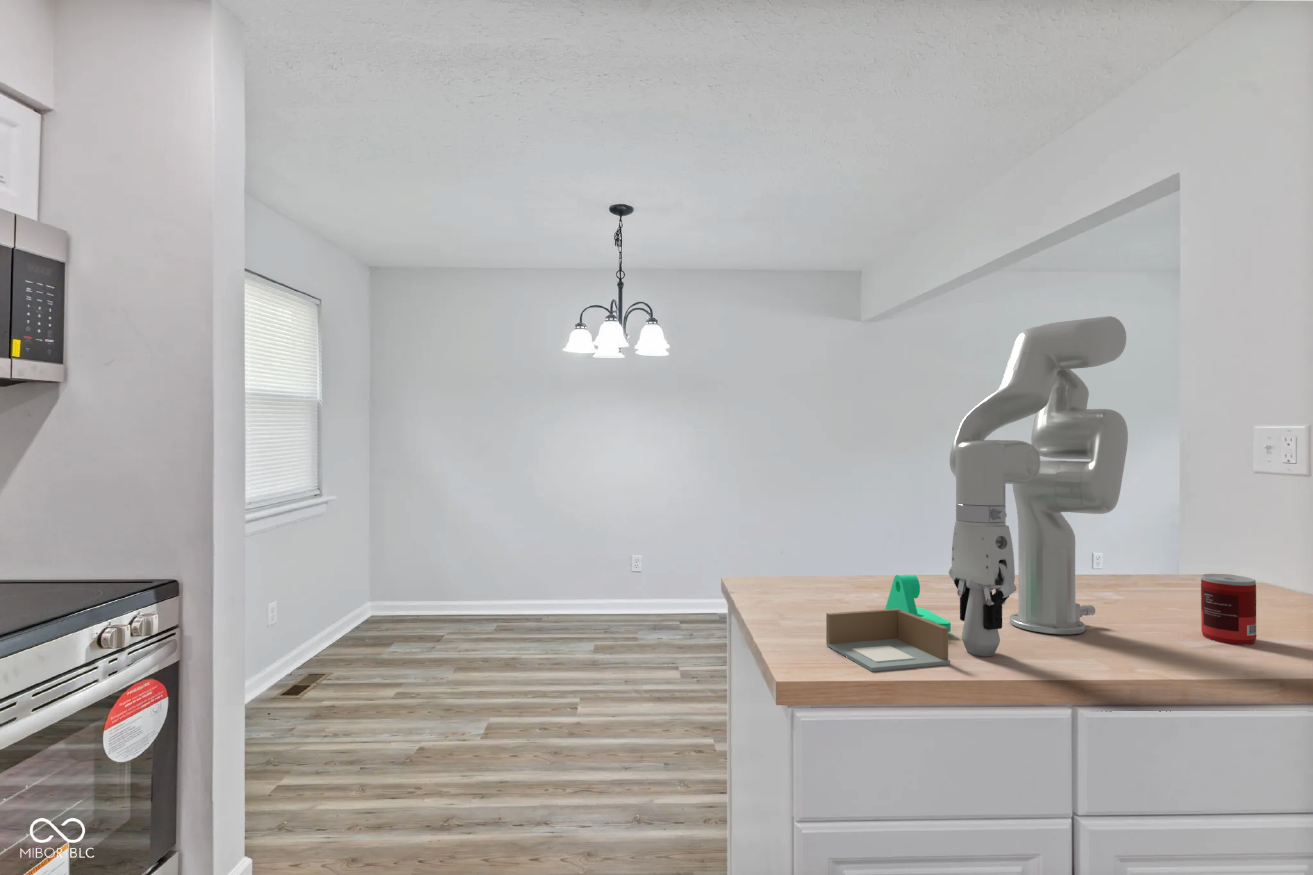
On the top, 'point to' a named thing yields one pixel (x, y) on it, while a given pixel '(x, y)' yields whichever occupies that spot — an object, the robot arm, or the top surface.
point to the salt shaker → (978, 624)
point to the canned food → (1228, 608)
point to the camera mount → (911, 599)
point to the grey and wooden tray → (887, 639)
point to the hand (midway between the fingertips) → (980, 623)
